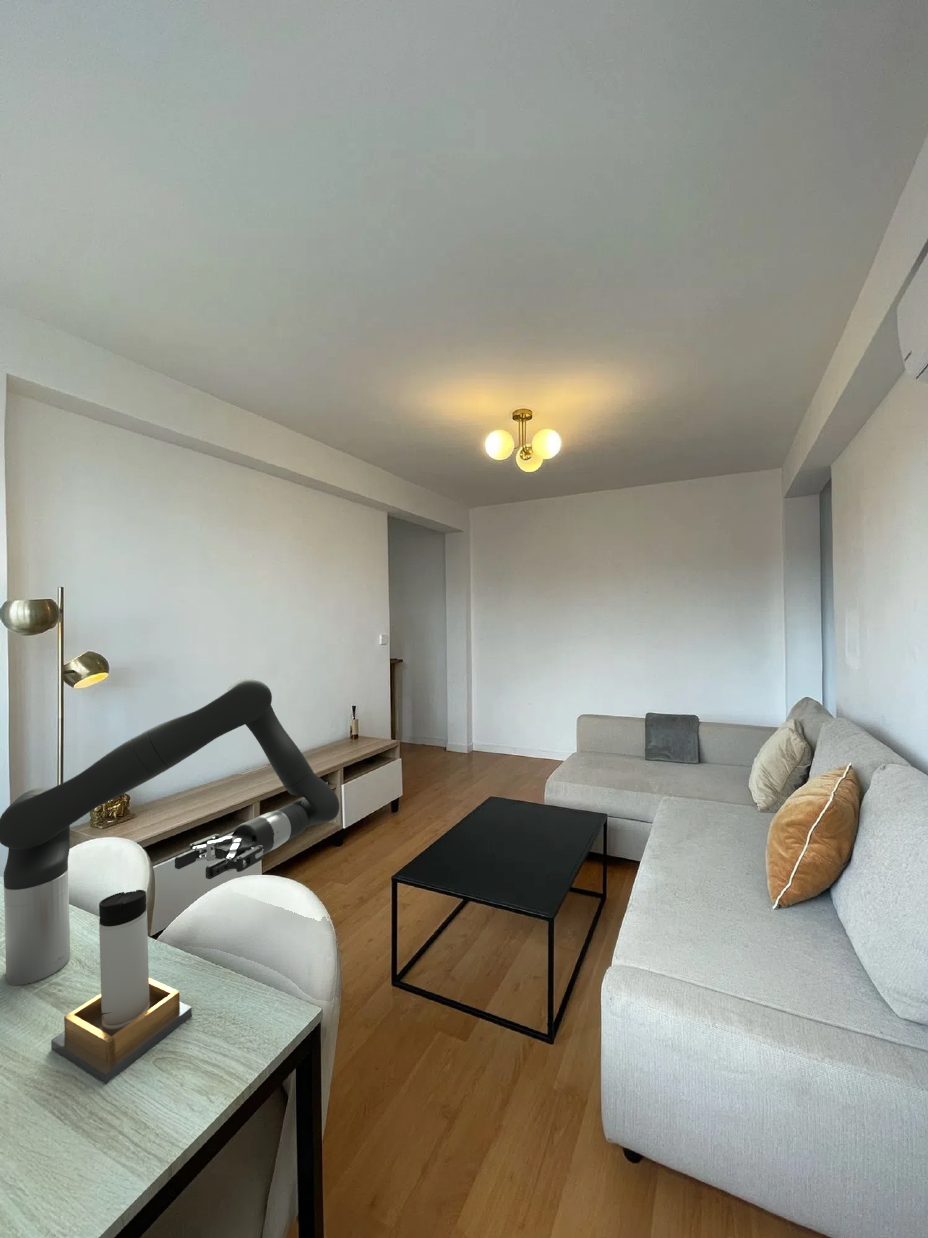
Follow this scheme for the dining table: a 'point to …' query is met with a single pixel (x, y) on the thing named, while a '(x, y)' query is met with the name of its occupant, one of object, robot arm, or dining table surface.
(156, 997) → the wooden tray
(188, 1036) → the dining table surface
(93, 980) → the dining table surface
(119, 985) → the travel mug
